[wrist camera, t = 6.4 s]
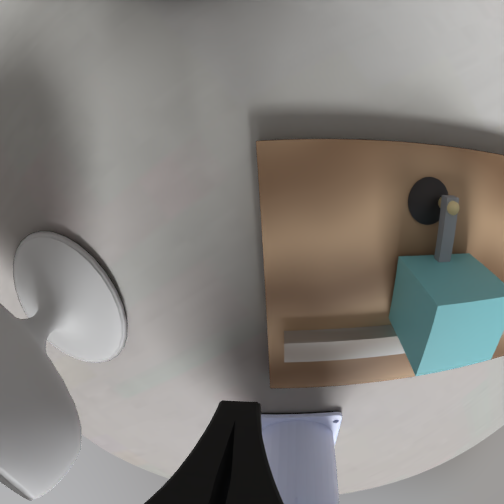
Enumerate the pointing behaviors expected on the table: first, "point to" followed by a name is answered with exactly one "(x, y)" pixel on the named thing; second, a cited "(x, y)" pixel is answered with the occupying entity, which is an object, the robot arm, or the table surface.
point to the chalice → (38, 363)
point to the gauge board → (360, 246)
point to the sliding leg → (446, 304)
